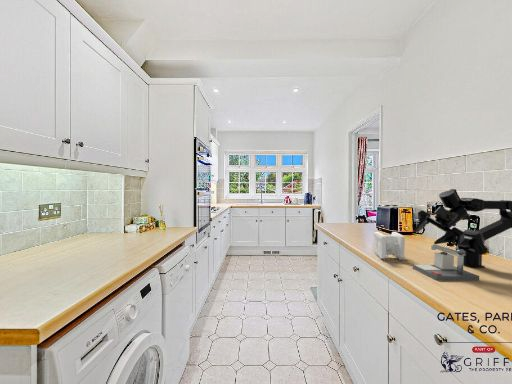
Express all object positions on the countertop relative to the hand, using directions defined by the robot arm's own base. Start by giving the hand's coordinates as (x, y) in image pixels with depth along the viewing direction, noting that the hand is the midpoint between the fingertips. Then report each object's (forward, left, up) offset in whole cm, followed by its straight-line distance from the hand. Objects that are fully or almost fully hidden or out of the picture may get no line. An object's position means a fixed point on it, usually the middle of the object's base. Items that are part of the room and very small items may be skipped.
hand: (424, 236), depth 109 cm
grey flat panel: (-2, +9, -13) cm, 16 cm away
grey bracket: (-4, +7, -11) cm, 14 cm away
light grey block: (-4, +6, -11) cm, 13 cm away
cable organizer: (+7, -16, -13) cm, 22 cm away
